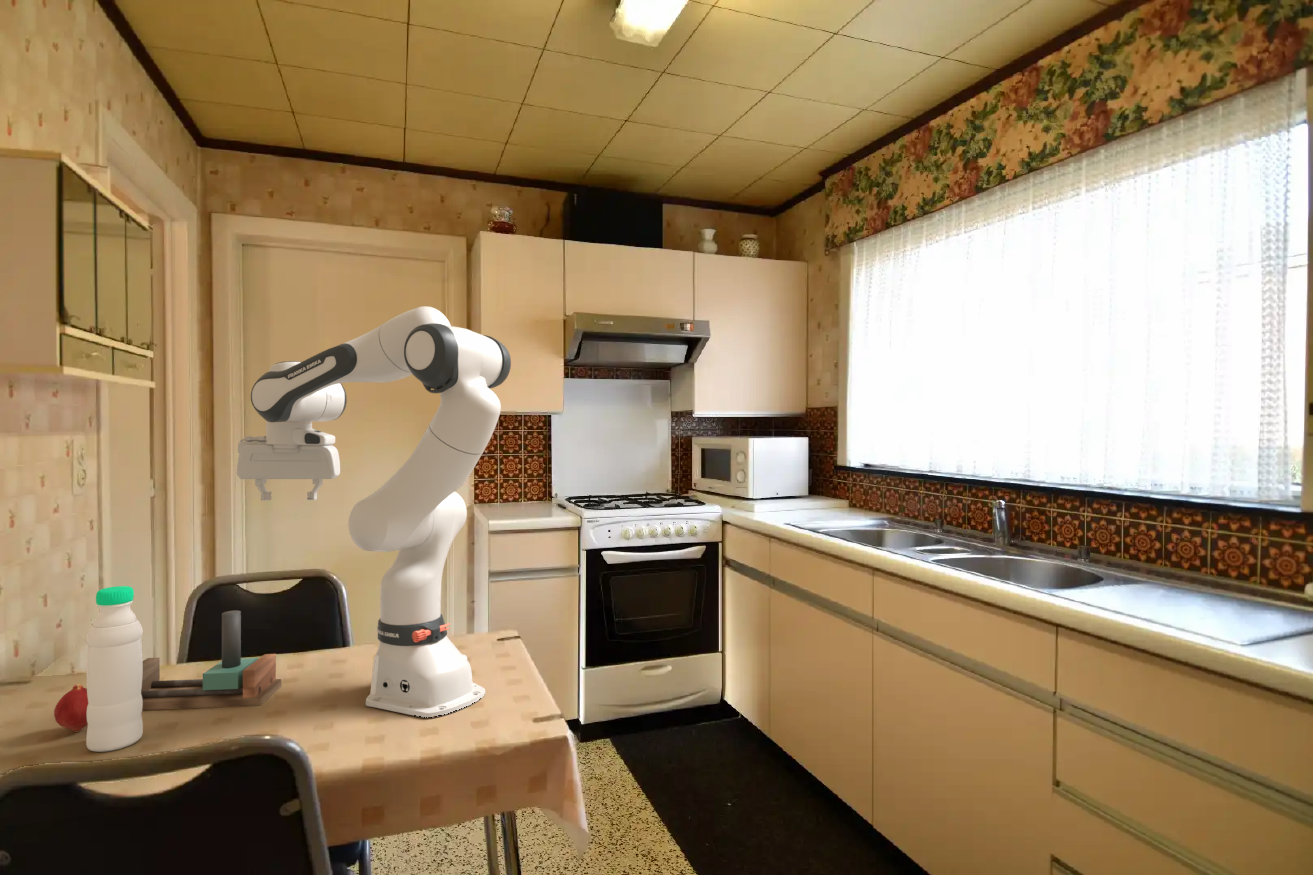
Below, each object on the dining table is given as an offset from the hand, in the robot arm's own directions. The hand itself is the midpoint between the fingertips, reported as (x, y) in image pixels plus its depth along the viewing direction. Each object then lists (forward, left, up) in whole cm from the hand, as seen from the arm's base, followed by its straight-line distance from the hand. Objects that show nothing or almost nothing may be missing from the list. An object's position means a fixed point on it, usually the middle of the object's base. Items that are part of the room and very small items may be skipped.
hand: (289, 499), depth 146 cm
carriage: (-11, +17, -32) cm, 38 cm away
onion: (-5, +38, -35) cm, 52 cm away
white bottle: (-15, +36, -35) cm, 53 cm away
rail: (-7, +20, -35) cm, 41 cm away
